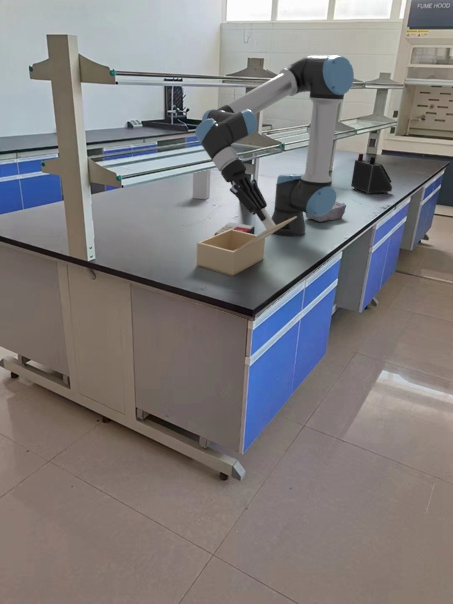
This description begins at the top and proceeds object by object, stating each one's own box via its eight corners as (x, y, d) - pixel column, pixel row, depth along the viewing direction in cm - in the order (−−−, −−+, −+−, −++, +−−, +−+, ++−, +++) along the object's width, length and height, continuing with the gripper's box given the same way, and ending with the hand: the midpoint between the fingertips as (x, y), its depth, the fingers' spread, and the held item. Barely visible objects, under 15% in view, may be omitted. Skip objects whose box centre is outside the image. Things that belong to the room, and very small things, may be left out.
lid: (296, 215, 156) (297, 217, 156) (265, 236, 165) (266, 238, 165) (266, 229, 141) (267, 231, 141) (234, 251, 150) (235, 253, 150)
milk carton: (206, 199, 242) (207, 160, 234) (192, 198, 244) (193, 159, 235) (209, 196, 249) (210, 158, 241) (196, 195, 250) (197, 157, 242)
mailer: (229, 250, 176) (230, 229, 172) (263, 259, 169) (265, 237, 165) (196, 265, 160) (197, 242, 157) (232, 276, 154) (233, 252, 150)
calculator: (214, 232, 184) (229, 220, 196) (213, 242, 186) (229, 230, 198) (241, 236, 180) (255, 224, 192) (240, 247, 182) (254, 235, 194)
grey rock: (303, 195, 214) (325, 189, 228) (300, 219, 218) (322, 212, 233) (329, 200, 207) (351, 194, 221) (325, 225, 211) (347, 218, 225)
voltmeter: (391, 193, 276) (398, 157, 268) (367, 195, 270) (373, 158, 262) (373, 187, 290) (379, 153, 281) (350, 188, 284) (356, 153, 275)
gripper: (233, 170, 159) (273, 230, 158) (210, 175, 149) (253, 239, 148) (248, 155, 154) (289, 217, 154) (226, 160, 144) (270, 226, 144)
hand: (271, 228), depth 151 cm, fingers closed
